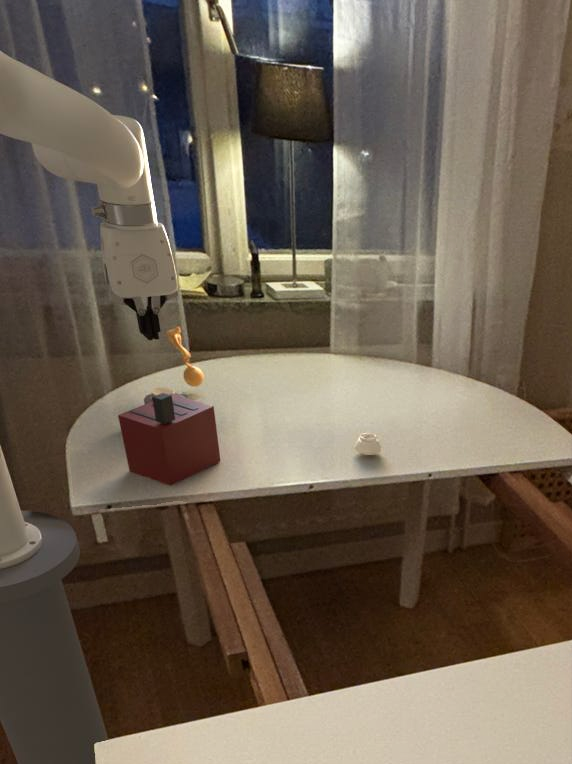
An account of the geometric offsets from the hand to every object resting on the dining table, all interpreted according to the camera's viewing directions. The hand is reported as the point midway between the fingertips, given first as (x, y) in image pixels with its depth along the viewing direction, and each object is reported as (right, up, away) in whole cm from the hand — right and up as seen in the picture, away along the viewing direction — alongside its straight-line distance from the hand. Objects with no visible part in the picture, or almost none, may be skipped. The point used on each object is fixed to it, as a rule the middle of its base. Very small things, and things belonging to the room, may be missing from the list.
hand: (151, 337), depth 127 cm
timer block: (-5, -8, +19) cm, 21 cm away
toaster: (+2, -21, +4) cm, 21 cm away
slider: (+5, -16, -6) cm, 17 cm away
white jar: (+34, -15, +16) cm, 40 cm away
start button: (-5, -5, +17) cm, 18 cm away
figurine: (-6, +2, +32) cm, 33 cm away
